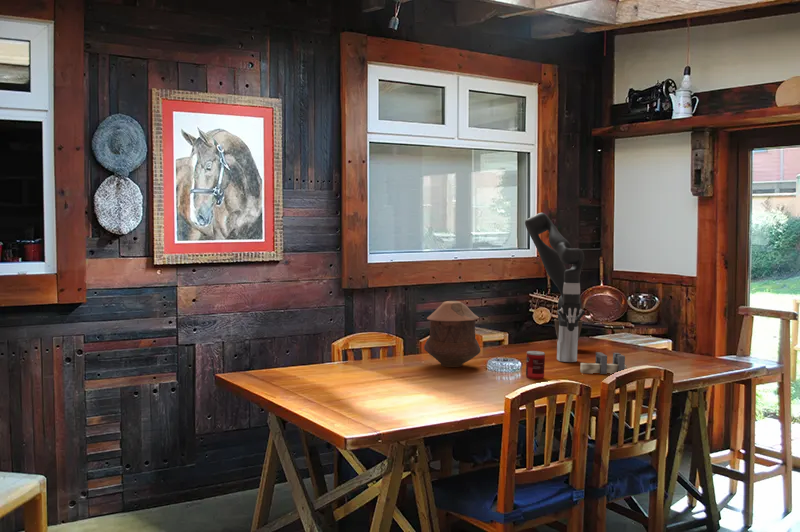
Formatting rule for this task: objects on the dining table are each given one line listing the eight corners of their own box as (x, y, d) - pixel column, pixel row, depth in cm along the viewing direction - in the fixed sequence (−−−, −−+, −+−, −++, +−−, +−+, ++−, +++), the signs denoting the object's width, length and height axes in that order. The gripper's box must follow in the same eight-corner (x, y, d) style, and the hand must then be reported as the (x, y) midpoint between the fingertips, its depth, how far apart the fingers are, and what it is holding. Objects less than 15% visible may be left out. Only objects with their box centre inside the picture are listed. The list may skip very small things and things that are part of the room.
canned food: (531, 375, 340) (532, 350, 340) (547, 377, 335) (548, 352, 335) (522, 377, 334) (523, 352, 334) (538, 380, 329) (539, 354, 329)
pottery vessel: (489, 365, 360) (491, 301, 359) (462, 373, 339) (464, 305, 338) (442, 359, 375) (443, 297, 373) (413, 366, 354) (414, 300, 352)
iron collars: (600, 374, 346) (601, 355, 346) (595, 370, 355) (595, 352, 355) (624, 375, 346) (625, 356, 346) (617, 371, 356) (618, 352, 355)
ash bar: (582, 373, 348) (582, 364, 348) (580, 371, 352) (580, 362, 352) (626, 374, 348) (627, 365, 348) (624, 372, 352) (624, 363, 352)
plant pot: (548, 347, 423) (549, 318, 422) (572, 346, 427) (573, 318, 426) (561, 351, 408) (563, 321, 407) (586, 351, 413) (588, 321, 412)
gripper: (559, 293, 344) (558, 332, 345) (588, 293, 345) (587, 332, 346) (554, 292, 351) (554, 330, 352) (583, 292, 352) (582, 330, 353)
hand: (570, 331), depth 349 cm, fingers closed
